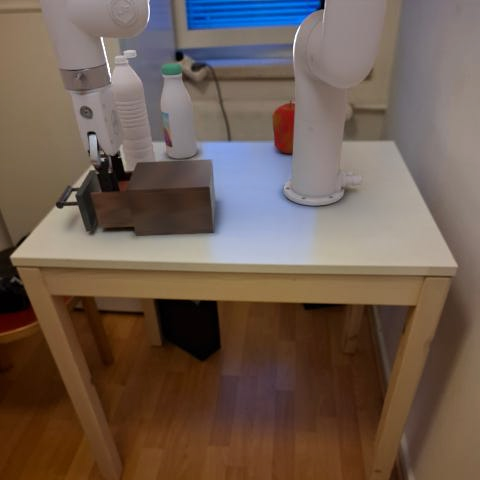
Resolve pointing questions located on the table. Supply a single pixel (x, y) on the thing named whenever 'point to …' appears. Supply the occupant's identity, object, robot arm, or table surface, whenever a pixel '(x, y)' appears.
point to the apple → (284, 127)
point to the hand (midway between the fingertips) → (114, 184)
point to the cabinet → (172, 197)
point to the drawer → (99, 203)
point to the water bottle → (132, 112)
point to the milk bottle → (177, 114)
